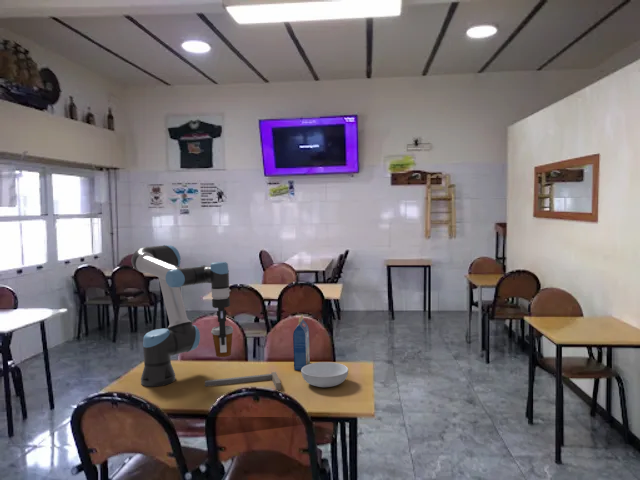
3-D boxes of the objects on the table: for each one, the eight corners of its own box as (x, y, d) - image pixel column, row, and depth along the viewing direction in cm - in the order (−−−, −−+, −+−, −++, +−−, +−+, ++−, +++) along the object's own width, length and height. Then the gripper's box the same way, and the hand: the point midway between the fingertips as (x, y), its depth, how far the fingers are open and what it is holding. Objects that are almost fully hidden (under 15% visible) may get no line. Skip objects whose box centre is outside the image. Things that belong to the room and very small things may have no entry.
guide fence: (205, 397, 202) (204, 390, 202) (205, 385, 218) (204, 378, 218) (280, 389, 210) (280, 382, 210) (275, 377, 225) (275, 371, 225)
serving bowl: (345, 393, 203) (345, 377, 203) (296, 391, 207) (296, 375, 207) (351, 376, 224) (351, 362, 223) (307, 375, 228) (306, 360, 227)
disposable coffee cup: (215, 359, 204) (214, 331, 204) (210, 354, 213) (208, 327, 212) (237, 356, 209) (236, 328, 208) (231, 351, 217) (230, 324, 217)
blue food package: (293, 370, 235) (292, 319, 234) (297, 362, 247) (296, 314, 245) (306, 370, 234) (305, 319, 233) (310, 362, 246) (308, 314, 245)
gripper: (230, 301, 200) (232, 355, 201) (229, 293, 221) (231, 342, 222) (211, 302, 199) (214, 356, 200) (212, 294, 219) (214, 344, 220)
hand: (223, 349), depth 211 cm, fingers closed on disposable coffee cup, 8 cm apart
